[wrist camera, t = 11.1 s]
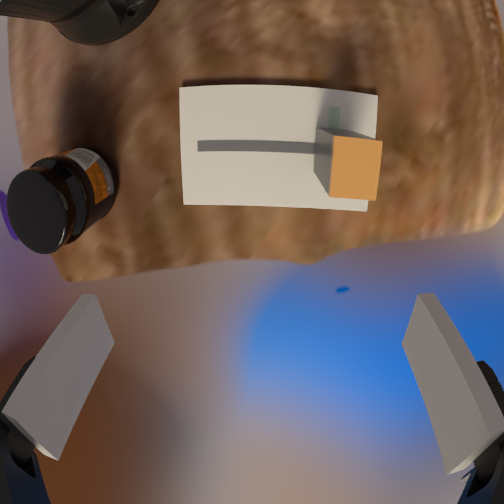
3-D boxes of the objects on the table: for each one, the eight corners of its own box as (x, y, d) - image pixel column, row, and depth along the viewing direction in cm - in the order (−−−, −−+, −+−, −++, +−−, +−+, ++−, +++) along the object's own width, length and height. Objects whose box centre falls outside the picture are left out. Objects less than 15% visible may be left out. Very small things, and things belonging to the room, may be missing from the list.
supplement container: (105, 132, 33) (46, 149, 22) (131, 207, 37) (85, 248, 27) (50, 161, 35) (-8, 186, 24) (75, 226, 39) (26, 267, 28)
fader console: (181, 88, 30) (179, 87, 29) (375, 95, 29) (378, 95, 28) (185, 202, 37) (183, 204, 36) (364, 208, 36) (367, 211, 35)
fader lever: (316, 127, 30) (334, 135, 21) (351, 130, 30) (382, 141, 21) (313, 171, 33) (329, 197, 24) (348, 174, 32) (375, 200, 23)
